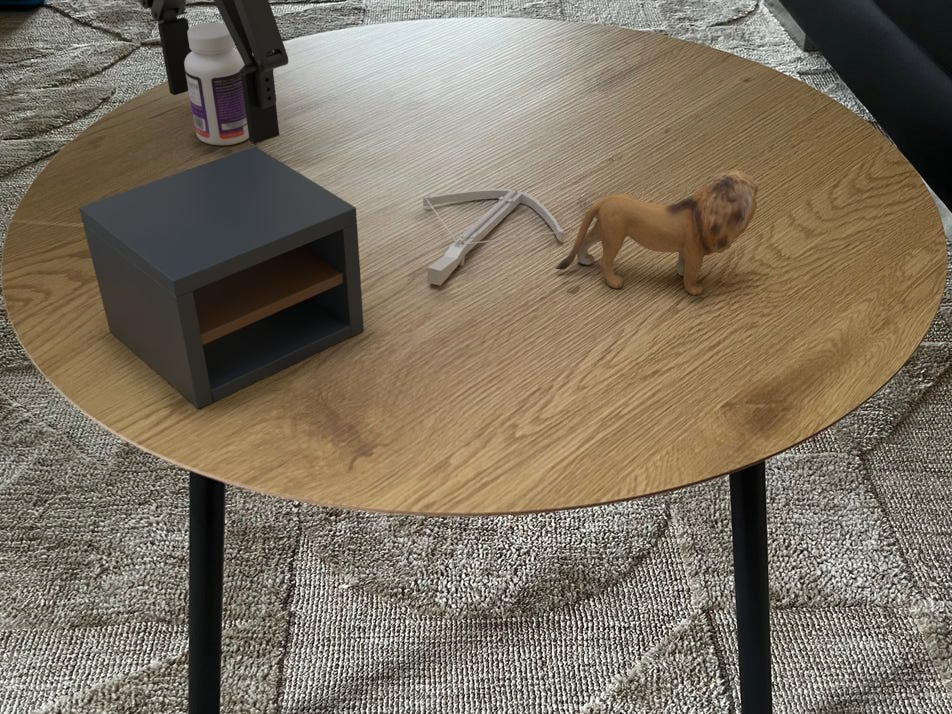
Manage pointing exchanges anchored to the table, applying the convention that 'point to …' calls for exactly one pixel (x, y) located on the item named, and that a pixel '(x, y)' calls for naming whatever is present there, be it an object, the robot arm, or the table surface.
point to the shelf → (226, 272)
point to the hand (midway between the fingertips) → (223, 114)
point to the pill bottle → (215, 85)
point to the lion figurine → (670, 226)
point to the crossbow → (481, 225)
